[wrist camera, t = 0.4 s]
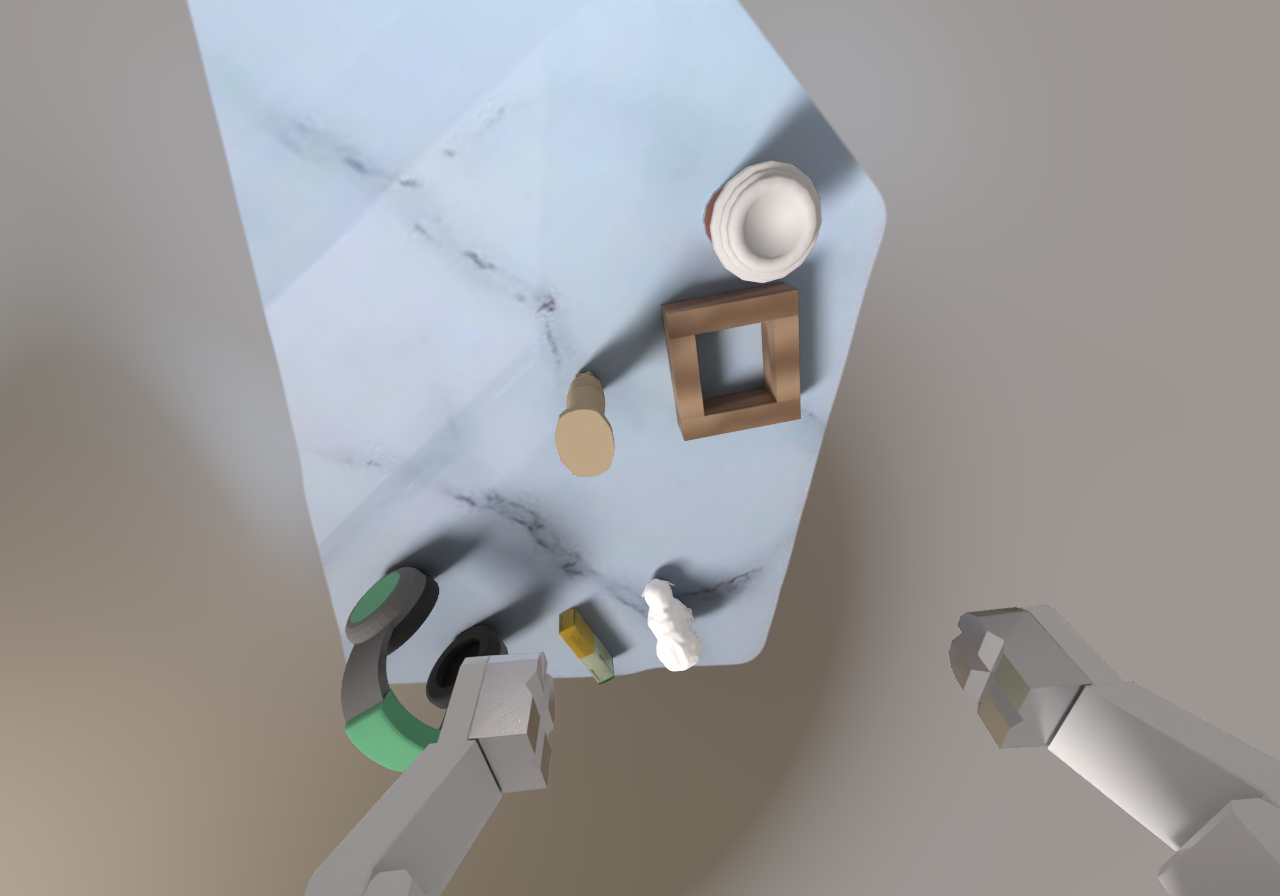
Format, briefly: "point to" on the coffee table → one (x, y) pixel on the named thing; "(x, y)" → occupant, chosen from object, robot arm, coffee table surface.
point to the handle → (585, 429)
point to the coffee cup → (763, 221)
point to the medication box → (586, 645)
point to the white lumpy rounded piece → (671, 627)
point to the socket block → (779, 359)
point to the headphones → (365, 689)
